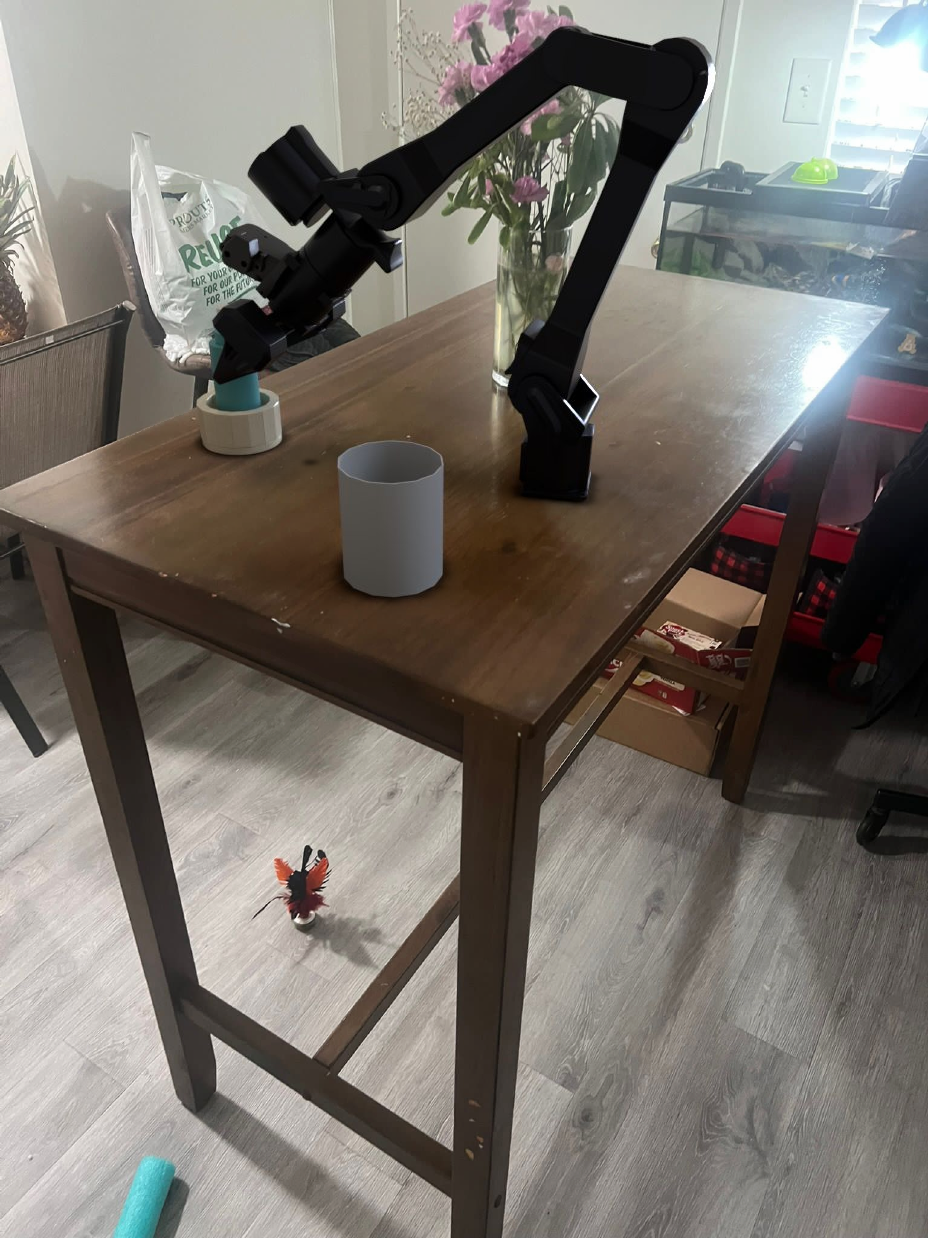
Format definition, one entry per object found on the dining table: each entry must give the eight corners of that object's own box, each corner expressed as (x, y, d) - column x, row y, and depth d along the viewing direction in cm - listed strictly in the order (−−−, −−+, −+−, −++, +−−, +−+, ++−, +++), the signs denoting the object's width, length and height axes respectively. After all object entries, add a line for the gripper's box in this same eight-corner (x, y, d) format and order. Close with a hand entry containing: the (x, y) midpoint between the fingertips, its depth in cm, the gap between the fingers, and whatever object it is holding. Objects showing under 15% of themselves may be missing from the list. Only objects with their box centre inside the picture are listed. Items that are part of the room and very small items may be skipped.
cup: (418, 605, 72) (418, 491, 67) (326, 585, 75) (318, 473, 69) (456, 557, 79) (458, 449, 74) (370, 539, 81) (366, 434, 76)
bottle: (271, 434, 99) (258, 308, 92) (233, 444, 97) (217, 315, 89) (250, 421, 102) (236, 298, 94) (213, 431, 99) (195, 305, 92)
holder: (293, 428, 103) (289, 390, 100) (265, 458, 96) (261, 417, 93) (221, 422, 104) (216, 383, 101) (189, 451, 97) (182, 410, 94)
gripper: (310, 182, 92) (227, 285, 101) (218, 212, 77) (129, 330, 86) (385, 270, 95) (298, 363, 103) (310, 315, 80) (214, 420, 88)
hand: (238, 367), depth 95 cm, fingers open, 9 cm apart
